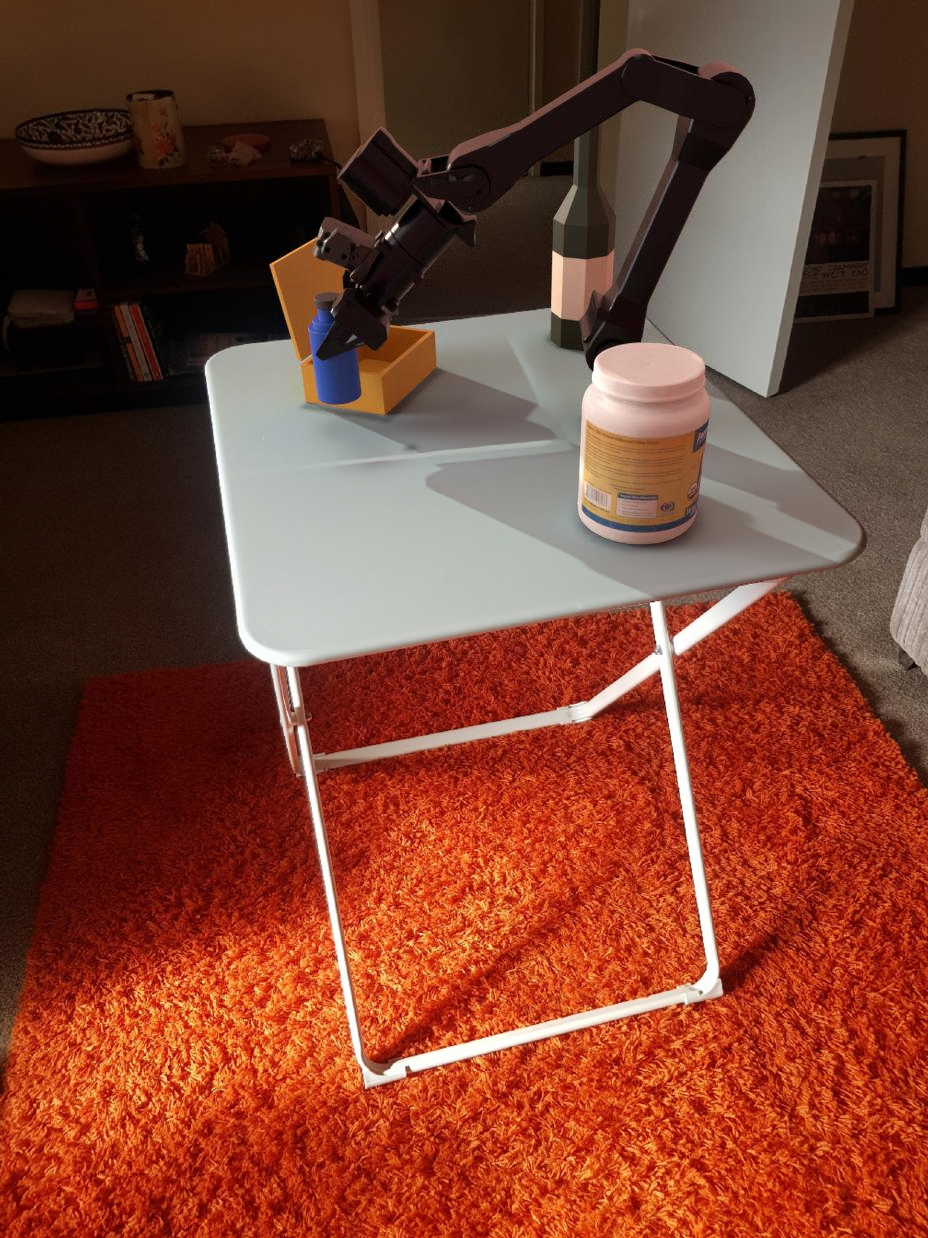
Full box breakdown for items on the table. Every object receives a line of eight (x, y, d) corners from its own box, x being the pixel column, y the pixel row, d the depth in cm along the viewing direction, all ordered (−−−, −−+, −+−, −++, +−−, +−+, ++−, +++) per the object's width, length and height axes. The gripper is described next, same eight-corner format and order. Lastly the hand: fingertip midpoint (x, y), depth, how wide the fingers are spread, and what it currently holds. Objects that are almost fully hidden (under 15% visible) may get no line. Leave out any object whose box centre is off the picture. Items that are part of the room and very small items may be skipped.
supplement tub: (712, 543, 97) (736, 383, 87) (592, 555, 96) (602, 396, 86) (674, 482, 107) (691, 332, 96) (565, 493, 105) (570, 343, 95)
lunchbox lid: (337, 226, 126) (313, 229, 127) (273, 263, 114) (247, 266, 116) (360, 317, 132) (336, 319, 134) (301, 361, 121) (276, 362, 123)
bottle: (350, 382, 118) (338, 285, 111) (369, 397, 115) (358, 298, 108) (310, 392, 116) (296, 294, 109) (328, 408, 113) (315, 308, 106)
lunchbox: (437, 371, 132) (434, 330, 129) (385, 419, 121) (381, 376, 118) (362, 360, 136) (358, 320, 132) (306, 406, 125) (300, 363, 121)
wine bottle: (611, 349, 136) (627, 111, 118) (552, 350, 136) (558, 113, 118) (605, 327, 143) (619, 98, 124) (548, 328, 143) (554, 100, 125)
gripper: (362, 170, 109) (279, 272, 116) (341, 218, 94) (248, 332, 101) (436, 240, 113) (352, 334, 121) (427, 296, 99) (332, 400, 106)
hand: (322, 347), depth 112 cm, fingers closed on bottle, 5 cm apart
